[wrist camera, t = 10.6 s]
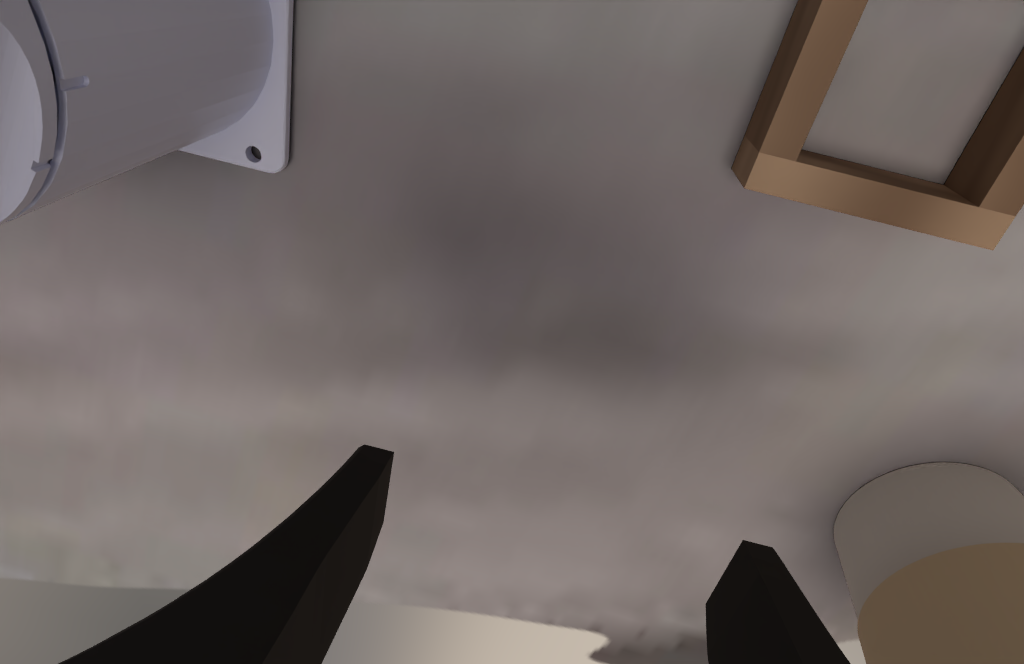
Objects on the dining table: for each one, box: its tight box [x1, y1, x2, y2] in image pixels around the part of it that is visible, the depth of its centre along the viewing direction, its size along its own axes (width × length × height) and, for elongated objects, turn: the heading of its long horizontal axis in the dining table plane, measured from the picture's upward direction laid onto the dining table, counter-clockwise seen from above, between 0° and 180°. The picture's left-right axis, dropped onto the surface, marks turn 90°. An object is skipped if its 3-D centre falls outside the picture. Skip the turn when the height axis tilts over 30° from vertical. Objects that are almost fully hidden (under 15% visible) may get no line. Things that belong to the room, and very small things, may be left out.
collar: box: [731, 0, 1024, 250], centre depth 16 cm, size 7×7×2 cm
